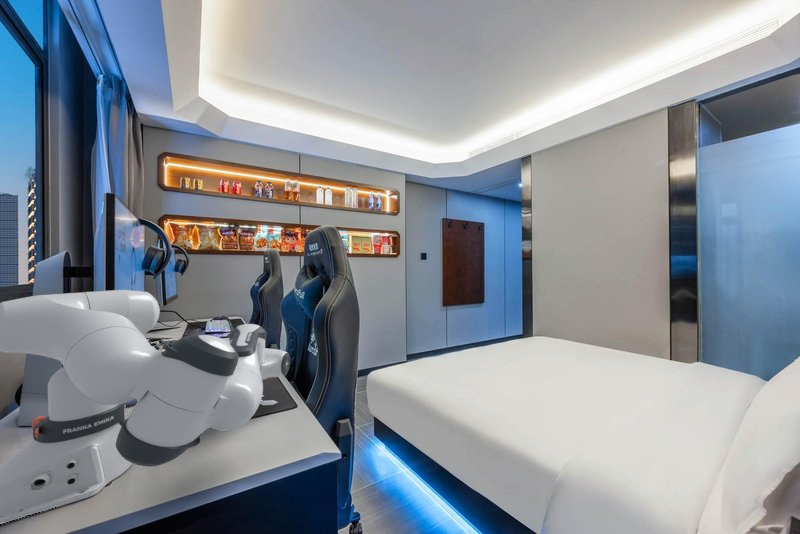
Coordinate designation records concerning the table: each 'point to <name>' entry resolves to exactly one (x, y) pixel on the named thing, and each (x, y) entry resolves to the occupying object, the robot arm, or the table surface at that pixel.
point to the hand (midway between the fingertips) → (210, 358)
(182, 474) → the table surface
